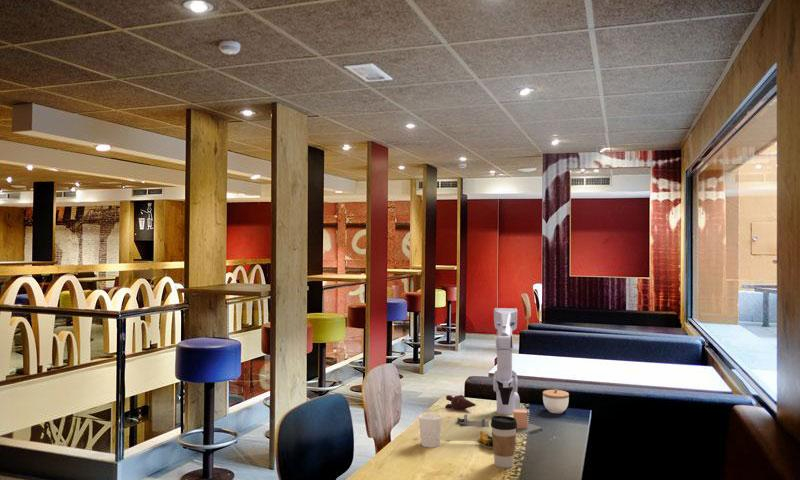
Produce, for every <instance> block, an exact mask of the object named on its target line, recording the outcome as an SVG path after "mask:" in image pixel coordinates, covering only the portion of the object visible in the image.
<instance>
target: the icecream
mask: <svg viewBox="0 0 800 480" xmlns="http://www.w3.org/2000/svg"><path fill="white" fill-rule="evenodd" d="M445 398H446V400H447V401H449V402H450V403H448V404H446V405H445V406H444V407H445V409H453V410H455V411H461V410H466V409H470V408H472V407H476V403H474V402H472V401H470V400H468V399H466V397H465V396H464V395H462V394H461V395H460V394H459V395H455V396H454V397H453V395H449V394H447V395H446V396H445Z"/></svg>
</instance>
